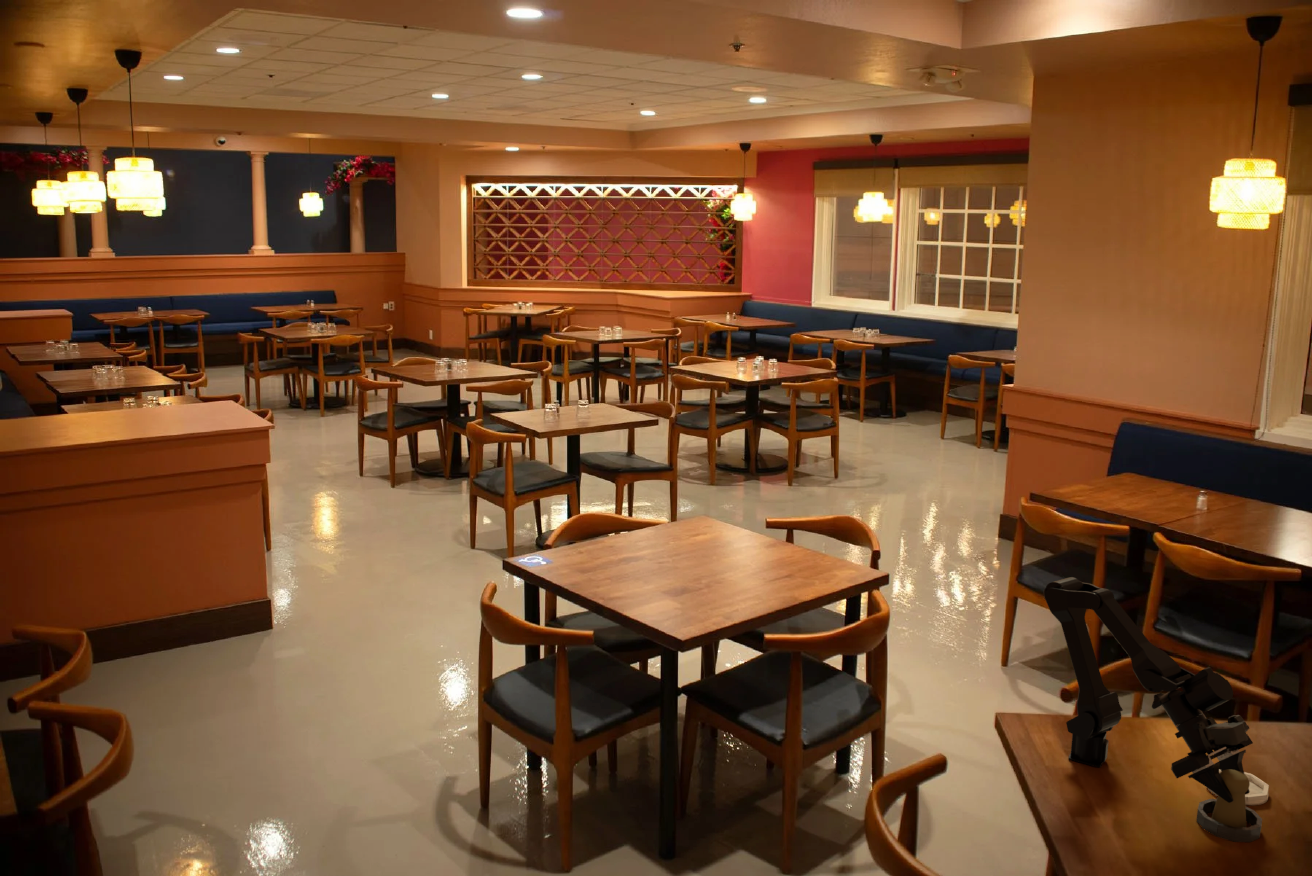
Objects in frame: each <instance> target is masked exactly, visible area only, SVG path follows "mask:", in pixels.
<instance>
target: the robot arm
mask: <svg viewBox="0 0 1312 876" xmlns="http://www.w3.org/2000/svg"><path fill="white" fill-rule="evenodd" d="M1043 598H1044V600H1045V602H1046V604H1047V607H1048V609H1049V611H1050V613H1051V614H1052V615H1053V616H1054V617H1055V618H1056V619H1057V620H1058V622H1059V623H1060V625H1061V628H1062V633H1063V636H1064V639H1065V643H1066V647H1067V649H1068V653H1069V657H1070V662H1071V664H1072V667H1073V671H1074V675H1075V679H1076V682H1077V685H1078V695H1077V700H1076V710H1077V711H1076V712H1077V715H1076V716H1075V717H1072V718H1071V719H1069V720H1068V721H1066V722H1065V723H1066V724H1065V725H1066V728H1067V731H1068V733H1070V734H1072V736H1071V746H1070V747H1071V749H1070V752H1069V753H1070V754H1069V755H1068V760H1070V761H1074V762H1077V763H1080V764H1085V765H1088V766H1092V767H1095V768H1101V767H1102V765H1103V763H1105V762H1106V760H1107V758H1108V752H1109V751H1108V750H1109V741H1110V740H1109V739H1107V734H1108V733H1107V732H1111V731H1113V728H1114V727H1115V726H1117V725H1118V724H1119V723H1120V722H1121V721H1120V720H1122V713H1121V712H1123V711H1124V709H1123V707H1122V706H1121V704H1120V700H1119V695H1118V693H1117V692H1116V691H1113V692H1111V691H1110V690H1109V689H1108V688H1107V686H1105V684H1104V681H1103V678H1102V674H1101V671H1100V668H1099V664H1098V661H1097V658H1096V654H1095V650H1094V647H1093V643H1092V640H1091V635H1090V633H1089V630H1088V629H1089V628H1088V625H1087V622H1086V617H1085V616H1086V612H1087V610H1092V611H1093V612H1094V613H1095V614H1096V616H1097V618H1098V619H1100V621H1101V622H1102V623H1103V625H1104V626H1105V627H1106V628H1107V630H1108V631H1109V632H1110V634H1111V635H1112V636H1113V637H1114V639H1115V640H1116V641H1117V643H1118V644H1119V645H1120V646H1121V648H1122V649H1123V650H1124V651H1125V652H1126V654H1127V655H1128V657H1129V659H1130V660H1131V667H1132V671H1133V673H1134V675H1135V676H1136V678H1137V679H1138V681H1139V683H1140V684H1141V686H1142V687H1143V688H1144V689H1145V690H1146V691H1148V692H1153V693H1155V694H1154V695H1153V701H1152V704H1151V708H1152V709H1153V710H1156V709H1157V708H1160V707H1162V708H1163V710H1164V712H1165V713H1166V714H1167V715H1168V717H1169V720H1171V722H1172V724H1173V725H1174V727H1175V728H1176V730H1177V731H1178V732H1175V733H1174V735H1175V737H1176V738H1177V739H1179V738H1182V740H1183V741H1184V742H1185V744H1186V745H1187V747H1188V748H1189V750H1190V752H1187V753H1186V754H1187V755H1186V756H1184V757H1182V758H1180V759H1177V760H1175V761H1173V762H1172V763H1171V766H1170V770H1171V772H1172V773H1173V774H1174V776H1175V778H1176V779H1179V778H1182V777H1183V776H1187V778H1189V779H1193V780H1195V781H1196V782H1198V783H1199V784H1201V785H1203V786H1204V787H1206V789H1207V788H1209V789H1210V790H1211V791H1213V792H1214V793H1216V794H1217V795H1218V796H1220V797H1221V798H1223V799H1224V800H1225V801H1227V802H1228V803H1230V802H1233V801H1234V800H1233V797H1232V795H1231V793H1230V791H1229V789H1228V788H1227V786H1226V784H1225V782H1224V780H1223V779H1222V777H1221V775H1220V773H1219V769H1220V770H1221V771H1223V770H1227V769H1232V770H1237V771H1239V772H1242V773H1243V774H1244V772H1245V770H1244V767H1243V758H1244V755H1245V753H1247V750H1246V749H1243V748H1246V747H1248V746H1250V745H1253V744H1254V742H1253V740H1252V739H1251V738H1250V736H1249V735H1248V733H1247V732H1248V730H1250V726H1249V725H1248V724H1247V722H1246V720H1244V718H1243V717H1242V716H1241V715H1240V714H1237V715H1231V716H1228V718H1227V721H1223V722H1222V723H1217V721H1216V720H1215V718H1213V717H1212V716H1209V717H1206V715H1205V714H1204V713H1203V712H1209V711H1210V710H1213V709H1215V708H1217V707H1219V706H1221V705H1223V704H1225V703H1226V702H1229V701H1230V700H1232V699H1233V696H1234V689H1233V687H1232V684H1231V683H1230V682H1229V680H1227V679H1226V678H1225V677H1224V676H1222V675H1221V674H1219V673H1218V672H1215V671H1214V670H1213V668H1211V667H1210V666H1207V667H1205V668H1203V669H1201V670H1200V671H1198V672H1197V673H1196V674H1195V673H1193V672H1191V671H1190V670H1187V669H1185V668H1183V667H1181V666H1180V665H1179V664H1178V663H1177V662H1176V661H1175V660H1174V658H1172V657H1171V656H1170V655H1169V654H1168V653H1167V652H1166V651H1164V650H1163V649H1161V648H1159V647H1157V646H1156V645H1154V644H1153V643H1152V642H1151V641H1150V640H1148V638H1147V637H1146V635H1145V634H1144V633H1143V632H1142V631H1141V629H1140V628H1139V627H1138V626H1137V625H1136V623H1135V622H1134V621H1133V619H1132V618H1131V617H1130V616H1129V614H1128V613H1127V612H1126V610H1124V608H1123V607H1122V606H1121V605H1120V604H1119V602H1118V601H1117V599H1115V595H1114V593H1113V591H1111V590H1110V589H1108V588H1102V587H1099V586H1097V585H1095V584H1093V583H1089V582H1082V580H1081V581H1080V580H1079V578H1076V577H1073V576H1071V577H1066V578H1062V579H1058V580H1055V581H1051V582H1049V583H1048V584H1047V585H1046V586H1045V587H1044V589H1043ZM1179 689H1182V691H1181V690H1179ZM1162 692H1166V693H1162ZM1242 749H1243V750H1242ZM1213 759H1217V760H1218V761H1217V762H1215V763H1214V761H1213ZM1190 773H1191V774H1190ZM1188 774H1189V775H1188ZM1249 792H1250V791H1249V788H1248V790H1247V792H1245V795H1246V794H1248V793H1249Z"/></svg>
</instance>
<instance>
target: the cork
mask: <svg viewBox="0 0 1312 876" xmlns="http://www.w3.org/2000/svg"><path fill="white" fill-rule="evenodd" d="M1220 775H1221V777H1222V779H1223V780H1224V782H1225V784H1226V786H1227V788H1228V789H1229V791H1230V793H1231V795H1232V797H1233V800H1234V801H1233V802H1230V803H1228V802H1227V801H1225V800H1224V799H1223V798H1221V797H1220V796H1218V797H1217V796H1216V797H1217V798H1216V799H1217V801H1216V804H1215V807H1214V811H1213V813H1211V814H1212V815H1211V818H1212V819H1213V820H1215V821H1217V822H1219V823H1222V824H1225V825H1229V826H1232V827H1246V828H1247V822H1246V807H1247V805H1245V792H1247V790H1248V788H1249V785H1250V783H1249V779H1248V777H1247V776H1246V775H1245V774H1243V773H1242V772H1239V771H1237V770H1232V769H1227V770H1223V771H1222V772H1220Z"/></svg>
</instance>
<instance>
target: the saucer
mask: <svg viewBox="0 0 1312 876" xmlns="http://www.w3.org/2000/svg"><path fill="white" fill-rule="evenodd" d="M1220 772H1222V771H1221V770H1220V769H1219V773H1220ZM1244 774H1245V775H1246V776H1247V777H1248V779H1249V783H1250V785H1249V791H1250V792H1249V793H1248V794H1246V795H1245V806H1260V805H1263V804H1265V803H1267V802H1268V800H1269V789H1270V788H1269V787H1270V785H1269V784H1268V783H1266V782H1265V781H1263V780H1262V779H1260V778H1259V777H1257V776H1256V775H1254V774H1252V773H1250V772H1246V771H1244ZM1207 790H1208V791H1209V792H1210V793H1211V792H1212V793H1211V794H1213V795H1214V794H1215V795H1214V796H1215V797H1217V796H1218V795H1217V794H1216V793H1214V792H1213V791H1211V790H1210V789H1209V788H1208V789H1207Z"/></svg>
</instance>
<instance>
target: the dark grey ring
mask: <svg viewBox="0 0 1312 876" xmlns="http://www.w3.org/2000/svg"><path fill="white" fill-rule="evenodd" d="M1216 801H1217V798H1208V799H1205V800H1203V801H1200V802H1199V803H1198V806H1197V813H1196V820H1197V821H1196V820H1195V821H1196V822H1197V824H1198V823H1199V824H1200V825H1201V826H1202V827H1201V826H1200V825H1199V824H1198V825H1199V826H1200V827H1201V829H1202V828H1203V829H1202V830H1204V829H1205V830H1206V831H1205V830H1204V831H1205V832H1207V831H1208V833H1209V832H1210V833H1209V834H1210V835H1212V836H1215V837H1216V838H1220V839H1222V840H1227V841H1230V842H1235V843H1236V842H1237V843H1251V842H1254V841H1256V840H1260V839H1261V831H1262V825H1263V824H1262V823H1263V818H1262V817H1261V816H1260V815H1259V814H1258V812H1256V811H1255V809H1252V808H1250V807H1248V806H1246V823H1248V824H1249V825H1250V826H1248V827H1247V826H1246V827H1232V826H1229V825H1225V824H1222V823H1219V822H1217V821H1215V820H1213V819H1212V817H1210V816H1208V815H1209V814H1213V811H1214V807H1215V804H1216ZM1208 813H1209V814H1208Z"/></svg>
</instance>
